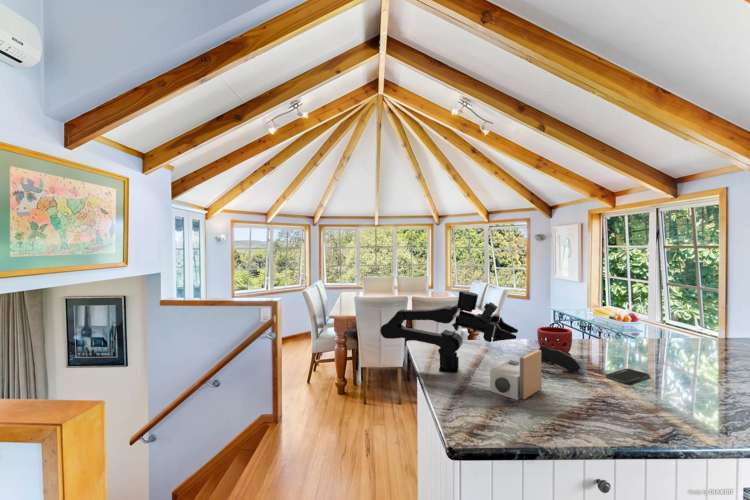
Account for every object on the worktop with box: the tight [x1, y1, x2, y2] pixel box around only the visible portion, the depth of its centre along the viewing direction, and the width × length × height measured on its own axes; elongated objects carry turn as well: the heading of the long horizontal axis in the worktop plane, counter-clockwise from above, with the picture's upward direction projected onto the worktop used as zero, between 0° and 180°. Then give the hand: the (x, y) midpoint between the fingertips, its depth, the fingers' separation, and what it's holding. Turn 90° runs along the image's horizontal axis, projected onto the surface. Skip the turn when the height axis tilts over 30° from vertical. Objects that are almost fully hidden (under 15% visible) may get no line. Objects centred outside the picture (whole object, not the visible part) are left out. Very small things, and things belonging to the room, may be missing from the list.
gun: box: [538, 346, 584, 374], centre depth 134 cm, size 3×16×10 cm, turn 78°
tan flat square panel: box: [519, 349, 542, 400], centre depth 113 cm, size 2×12×12 cm, turn 133°
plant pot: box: [536, 326, 573, 357], centre depth 150 cm, size 13×13×12 cm
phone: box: [605, 368, 651, 385], centre depth 127 cm, size 8×1×15 cm
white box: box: [489, 360, 520, 400], centre depth 117 cm, size 9×15×8 cm, turn 133°
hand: (517, 334), depth 126 cm, fingers open, 9 cm apart
